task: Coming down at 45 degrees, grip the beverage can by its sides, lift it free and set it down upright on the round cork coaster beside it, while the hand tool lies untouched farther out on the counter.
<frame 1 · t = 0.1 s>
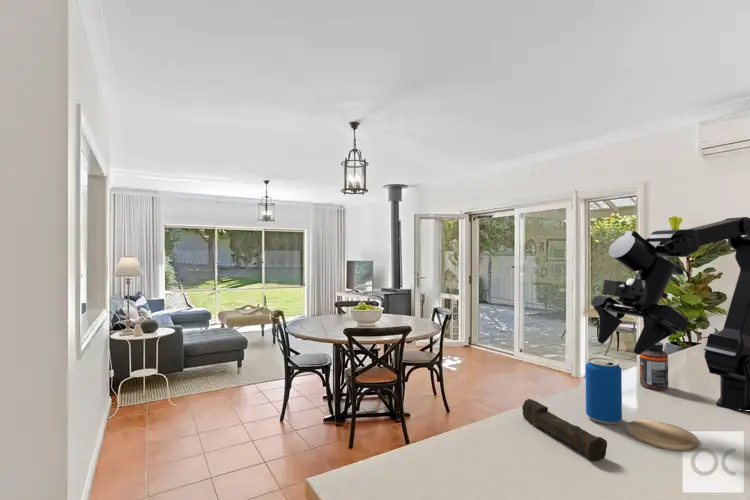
hand: (617, 348, 82), 15 cm above the worktop, tool tilted 30°, fingers open, 9 cm apart
hand tool: (555, 439, 75), on the worktop
coaster: (661, 435, 75), on the worktop
beverage can: (603, 420, 83), on the worktop
supplement bottle: (653, 387, 102), on the worktop
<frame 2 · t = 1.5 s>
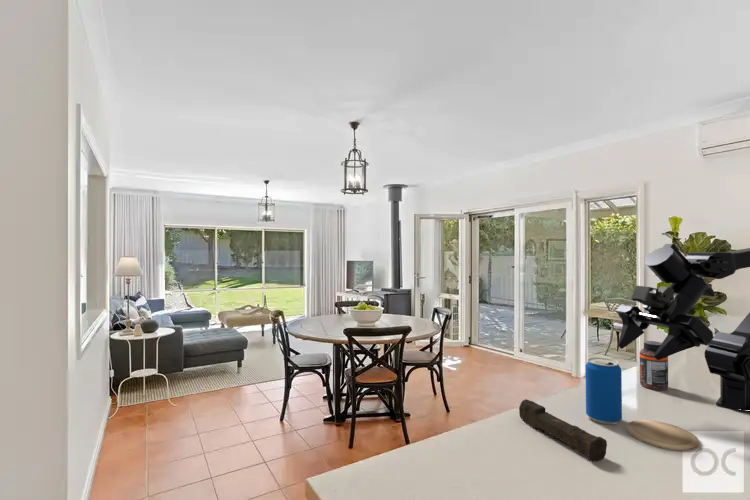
hand: (636, 352, 84), 13 cm above the worktop, tool tilted 45°, fingers open, 9 cm apart
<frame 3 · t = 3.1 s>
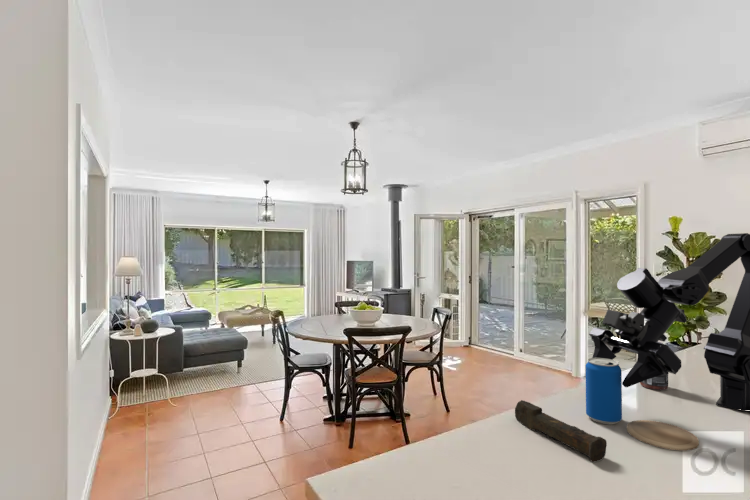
hand: (606, 378, 83), 8 cm above the worktop, tool tilted 45°, fingers open, 9 cm apart
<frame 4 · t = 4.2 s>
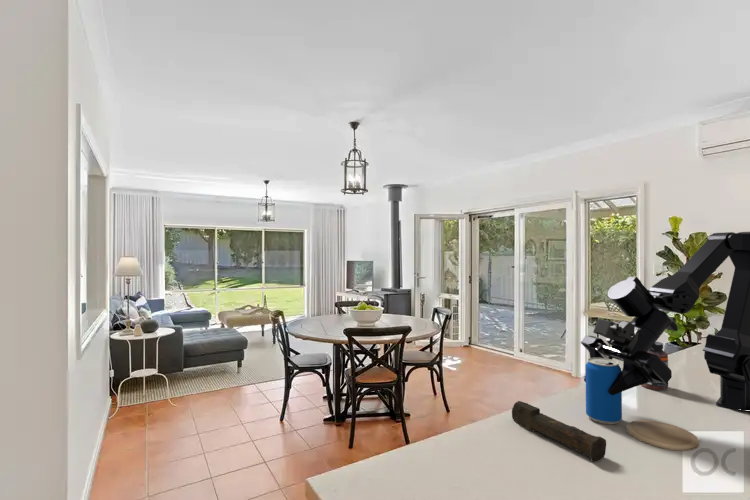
hand: (597, 387, 83), 7 cm above the worktop, tool tilted 45°, fingers closed on beverage can, 6 cm apart
beverage can: (603, 420, 83), on the worktop, touching gripper
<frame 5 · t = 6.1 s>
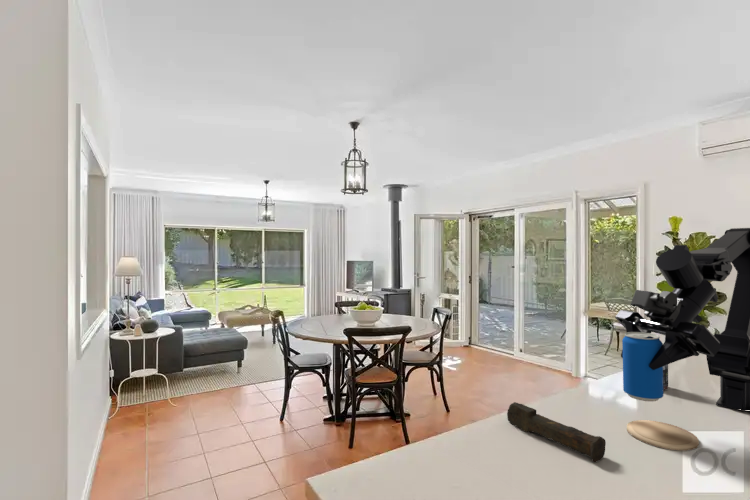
hand: (636, 362, 77), 13 cm above the worktop, tool tilted 45°, fingers closed on beverage can, 6 cm apart
beverage can: (643, 397, 78), point 6 cm above the worktop, touching gripper
when the fingers open (8 cm above the worktop, at t = 8.0 s): beverage can stays where it is, resting on coaster.
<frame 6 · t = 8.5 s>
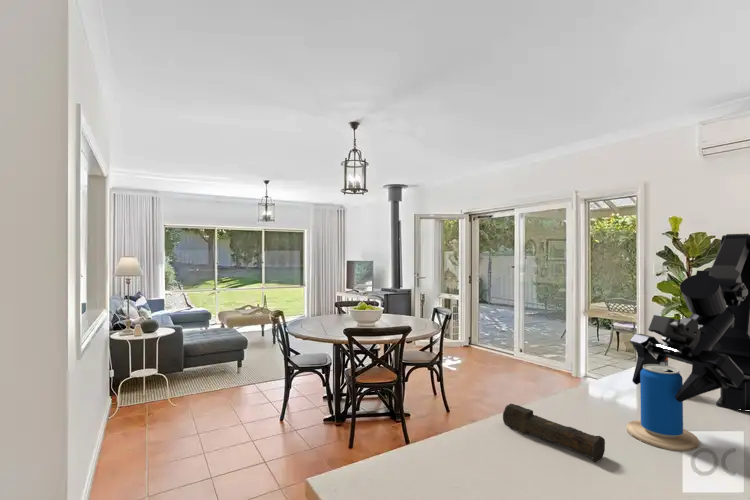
hand: (654, 391, 75), 9 cm above the worktop, tool tilted 45°, fingers open, 9 cm apart
beverage can: (661, 432, 75), point 1 cm above the worktop, touching coaster
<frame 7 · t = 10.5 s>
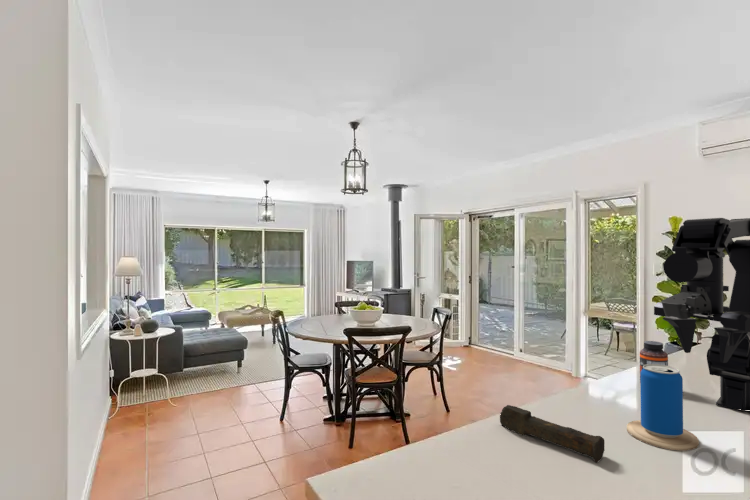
hand: (704, 357, 81), 13 cm above the worktop, tool pointing down, fingers open, 7 cm apart
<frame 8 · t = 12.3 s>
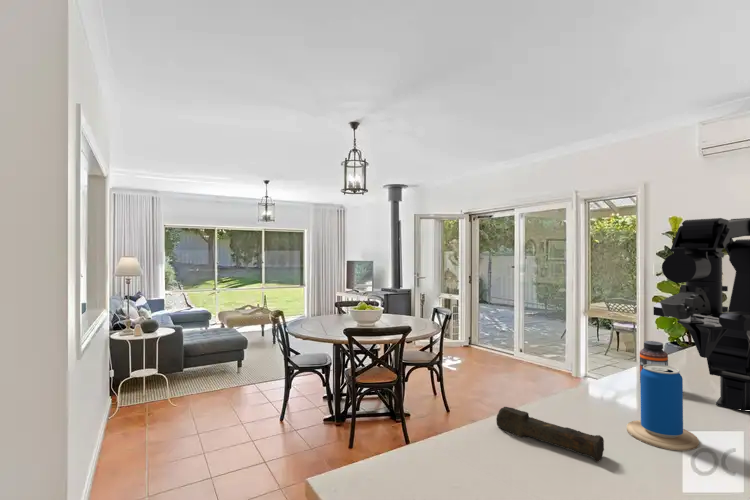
hand: (704, 357, 81), 13 cm above the worktop, tool pointing down, fingers closed
at the end: beverage can 0.1 cm from the coaster (horizontally); beverage can tilted 0°; the gripper is holding nothing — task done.
